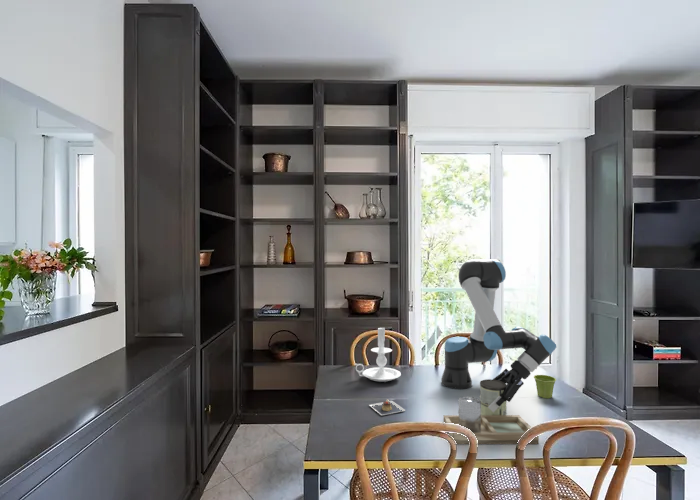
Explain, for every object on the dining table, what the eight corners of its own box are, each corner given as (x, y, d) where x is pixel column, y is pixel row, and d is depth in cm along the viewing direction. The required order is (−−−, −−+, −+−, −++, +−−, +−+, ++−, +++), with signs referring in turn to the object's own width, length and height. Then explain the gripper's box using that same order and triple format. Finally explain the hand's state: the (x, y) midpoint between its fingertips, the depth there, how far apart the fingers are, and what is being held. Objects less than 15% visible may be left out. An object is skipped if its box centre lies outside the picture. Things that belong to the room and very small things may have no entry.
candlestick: (352, 373, 218) (352, 323, 218) (396, 372, 220) (396, 322, 220) (356, 386, 197) (356, 331, 197) (404, 385, 199) (404, 330, 199)
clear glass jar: (456, 424, 150) (456, 396, 150) (476, 424, 151) (476, 396, 151) (462, 434, 142) (462, 404, 142) (483, 434, 143) (483, 404, 143)
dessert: (381, 418, 162) (381, 406, 162) (368, 407, 173) (368, 396, 173) (406, 413, 166) (405, 401, 166) (391, 402, 177) (391, 392, 177)
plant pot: (558, 400, 178) (558, 381, 178) (536, 399, 180) (536, 380, 180) (552, 393, 187) (552, 375, 187) (531, 392, 189) (531, 374, 189)
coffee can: (480, 410, 167) (480, 378, 167) (506, 414, 164) (505, 380, 164) (479, 420, 157) (479, 386, 157) (507, 424, 154) (507, 389, 154)
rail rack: (443, 424, 154) (443, 415, 154) (518, 423, 155) (518, 415, 155) (454, 444, 138) (454, 434, 138) (538, 444, 139) (538, 434, 139)
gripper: (544, 381, 149) (503, 423, 149) (518, 364, 172) (482, 400, 172) (530, 368, 149) (489, 409, 149) (506, 352, 172) (470, 388, 172)
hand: (485, 404), depth 161 cm, fingers closed on coffee can, 10 cm apart
